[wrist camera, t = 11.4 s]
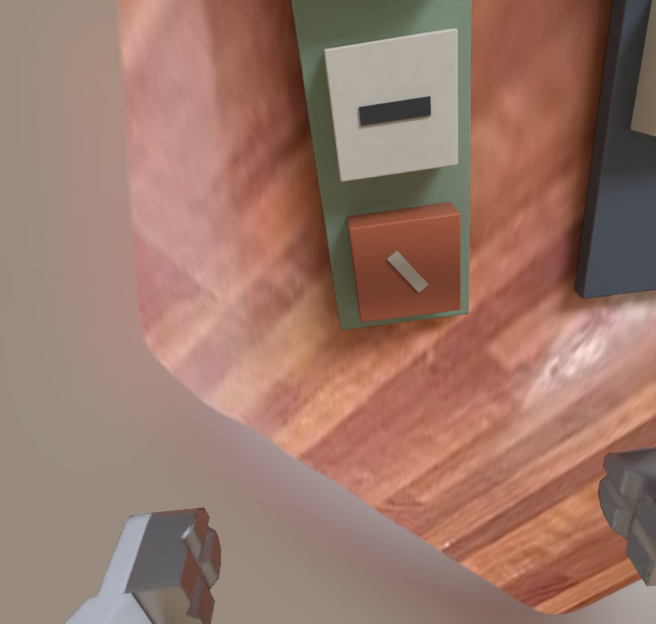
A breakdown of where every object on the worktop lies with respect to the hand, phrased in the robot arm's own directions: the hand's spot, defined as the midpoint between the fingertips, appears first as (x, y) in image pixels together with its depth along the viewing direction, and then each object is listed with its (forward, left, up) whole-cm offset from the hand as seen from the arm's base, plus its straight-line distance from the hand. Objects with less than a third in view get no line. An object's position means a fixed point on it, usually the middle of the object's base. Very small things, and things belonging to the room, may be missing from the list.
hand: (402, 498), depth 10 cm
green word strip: (-5, +2, -17) cm, 17 cm away
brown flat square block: (+2, +2, -16) cm, 16 cm away
